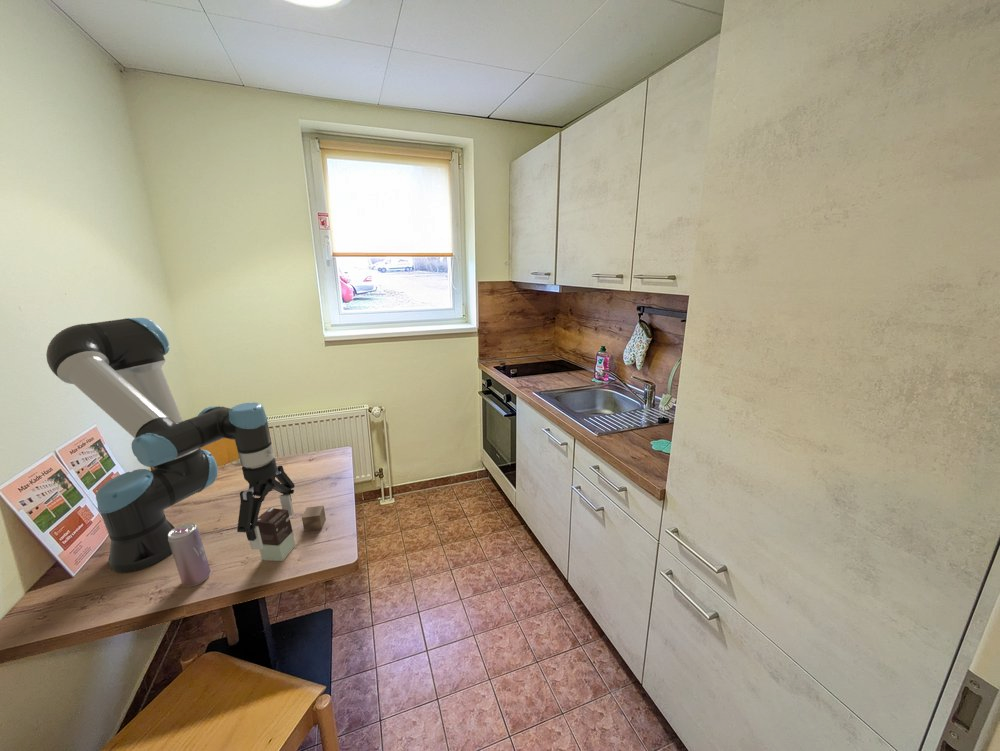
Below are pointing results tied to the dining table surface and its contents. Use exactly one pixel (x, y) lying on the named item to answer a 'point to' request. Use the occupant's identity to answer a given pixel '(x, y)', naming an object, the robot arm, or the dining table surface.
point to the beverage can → (189, 554)
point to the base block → (278, 549)
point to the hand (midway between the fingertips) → (274, 530)
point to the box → (274, 526)
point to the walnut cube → (313, 518)
